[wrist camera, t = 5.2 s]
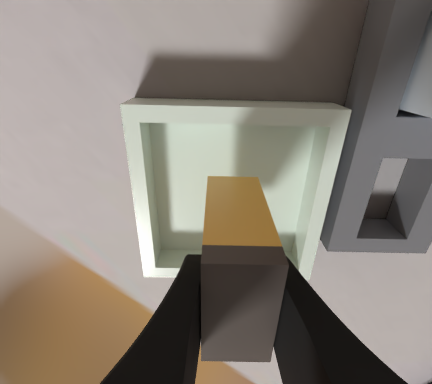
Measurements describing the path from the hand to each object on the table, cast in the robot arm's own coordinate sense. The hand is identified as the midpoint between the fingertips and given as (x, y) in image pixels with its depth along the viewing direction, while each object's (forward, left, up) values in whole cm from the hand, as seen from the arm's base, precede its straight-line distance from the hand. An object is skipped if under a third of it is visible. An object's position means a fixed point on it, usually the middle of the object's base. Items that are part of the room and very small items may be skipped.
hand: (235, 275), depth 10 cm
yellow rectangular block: (0, 0, -4) cm, 4 cm away
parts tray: (0, 0, -7) cm, 7 cm away
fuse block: (-9, -4, -7) cm, 12 cm away
